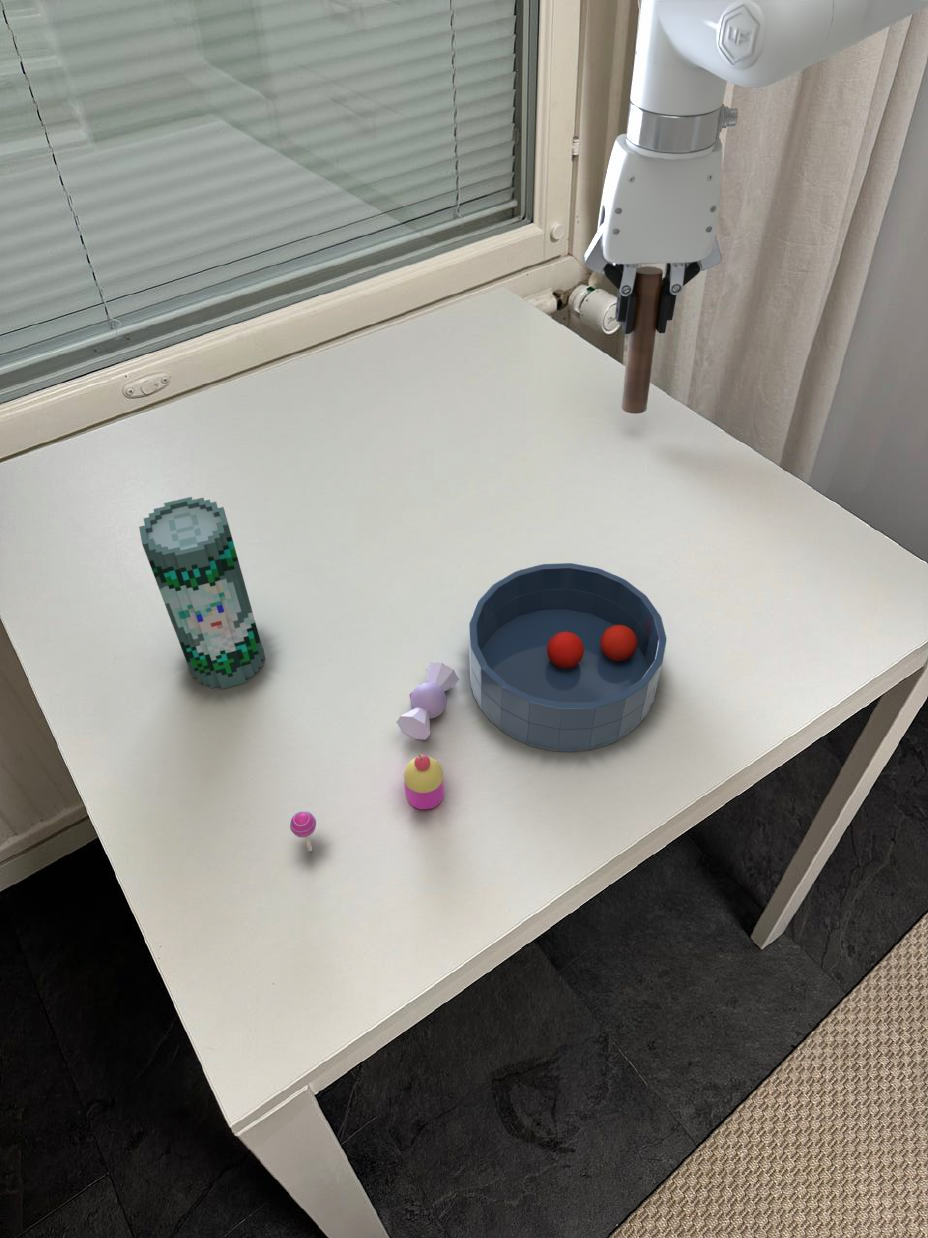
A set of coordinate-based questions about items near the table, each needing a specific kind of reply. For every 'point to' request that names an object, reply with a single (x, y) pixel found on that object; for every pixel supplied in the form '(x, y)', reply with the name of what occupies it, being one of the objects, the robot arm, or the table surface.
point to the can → (203, 590)
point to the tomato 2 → (618, 643)
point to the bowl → (549, 695)
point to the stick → (642, 340)
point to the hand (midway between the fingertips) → (642, 325)
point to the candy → (421, 771)
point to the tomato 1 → (565, 650)
